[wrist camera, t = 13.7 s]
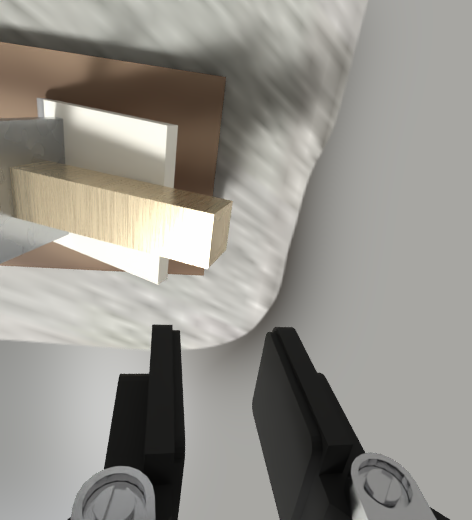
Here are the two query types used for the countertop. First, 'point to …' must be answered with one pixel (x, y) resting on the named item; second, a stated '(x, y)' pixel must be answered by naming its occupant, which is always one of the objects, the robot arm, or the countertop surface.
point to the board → (125, 102)
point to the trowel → (96, 202)
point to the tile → (116, 169)
